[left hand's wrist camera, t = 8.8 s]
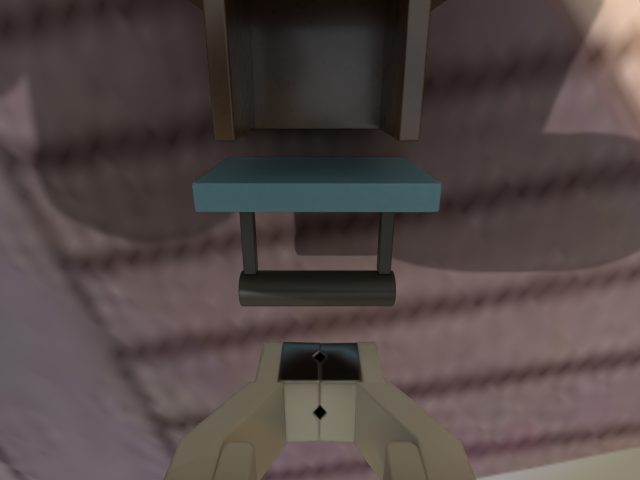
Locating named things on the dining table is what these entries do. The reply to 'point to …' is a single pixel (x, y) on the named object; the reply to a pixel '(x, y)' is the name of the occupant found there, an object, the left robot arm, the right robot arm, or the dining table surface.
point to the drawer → (317, 127)
